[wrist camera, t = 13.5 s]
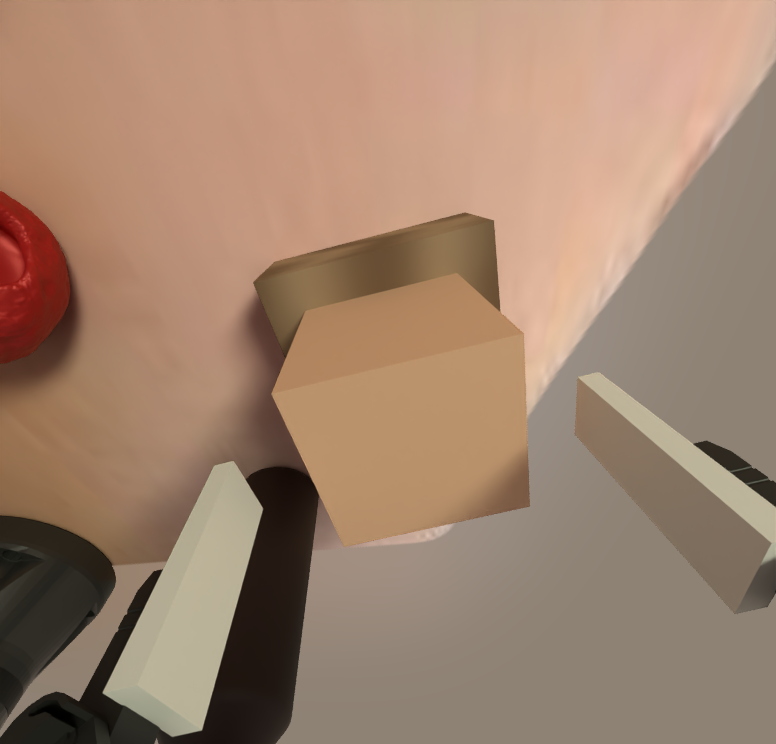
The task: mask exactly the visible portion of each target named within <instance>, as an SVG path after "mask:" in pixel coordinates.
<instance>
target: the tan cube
mask: <svg viewBox="0 0 776 744" xmlns="http://www.w3.org/2000/svg"><path fill="white" fill-rule="evenodd" d="M271 394H272V396H273V399H274V401H275V403H276V405H277V407H278V409H279V411H280V413H281V415H282V417H283V420H284V422H285V424H286V426H287V428H288V430H289V432H290V434H291V436H292V438H293V441H294V443H295V445H296V447H297V449H298V451H299V453H300V455H301V457H302V460H303V462H304V464H305V466H306V468H307V470H308V472H309V474H310V476H311V478H312V481H313V483H314V485H315V487H316V489H317V491H318V493H319V495H320V497H321V499H322V502H323V504H324V506H325V508H326V510H327V512H328V514H329V516H330V518H331V521H332V523H333V525H334V527H335V529H336V531H337V533H338V535H339V537H340V539H341V542H342V544H343V546H344V547H346V546H351V545H355V544H360V543H364V542H369V541H373V540H378V539H383V538H387V537H392V536H396V535H401V534H406V533H410V532H415V531H419V530H424V529H429V528H433V527H438V526H442V525H447V524H451V523H456V522H461V521H465V520H470V519H474V518H479V517H483V516H488V515H493V514H497V513H502V512H507V511H511V510H516V509H520V508H525V507H529V506H530V499H529V470H528V445H527V444H528V441H527V412H526V383H525V354H524V333H523V332H522V331H520V330H519V329H518V328H517V327H516V326H515V325H514V324H513V323H512V322H511V321H509V320H508V319H507V318H506V317H505V316H504V315H503V314H502V313H501V312H500V311H498V310H497V309H496V308H495V307H494V306H493V305H492V304H491V303H490V302H488V301H487V300H486V299H485V298H484V297H483V296H482V295H481V294H480V293H479V292H477V291H476V290H475V289H474V288H473V287H472V286H471V285H470V284H469V283H468V282H466V281H465V280H464V279H463V278H462V277H461V276H460V275H459V274H458V273H455V274H451V275H447V276H443V277H439V278H435V279H431V280H427V281H423V282H419V283H415V284H411V285H407V286H403V287H399V288H395V289H391V290H387V291H383V292H379V293H375V294H371V295H367V296H363V297H359V298H355V299H351V300H347V301H343V302H339V303H335V304H331V305H327V306H323V307H319V308H315V309H311V310H307V311H305V313H304V315H303V318H302V320H301V323H300V325H299V328H298V330H297V332H296V335H295V337H294V340H293V342H292V345H291V347H290V349H289V352H288V354H287V357H286V359H285V362H284V364H283V367H282V369H281V371H280V374H279V376H278V379H277V381H276V384H275V386H274V389H273V391H272V393H271Z"/></svg>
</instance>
